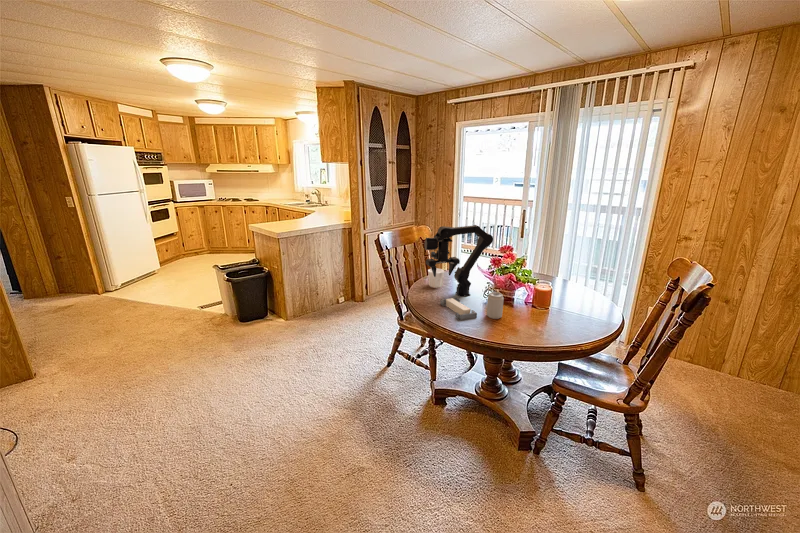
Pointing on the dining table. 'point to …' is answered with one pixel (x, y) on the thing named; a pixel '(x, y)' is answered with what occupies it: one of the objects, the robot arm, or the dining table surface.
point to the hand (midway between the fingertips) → (442, 276)
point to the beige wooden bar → (457, 306)
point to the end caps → (458, 316)
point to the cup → (436, 278)
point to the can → (495, 305)
